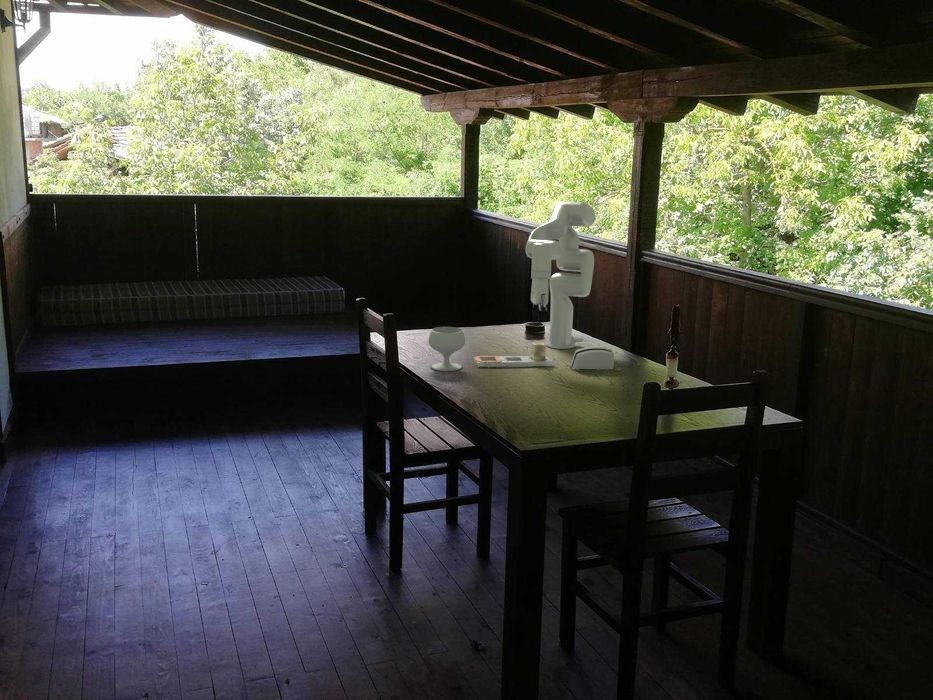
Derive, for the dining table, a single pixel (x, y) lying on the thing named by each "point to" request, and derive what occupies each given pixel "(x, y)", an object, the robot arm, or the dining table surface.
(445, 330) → the chalice
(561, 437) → the dining table surface
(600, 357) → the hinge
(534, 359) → the peg
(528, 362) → the rail
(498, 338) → the dining table surface
